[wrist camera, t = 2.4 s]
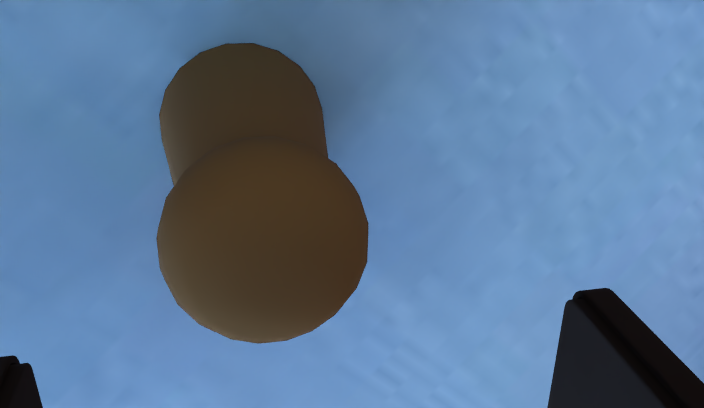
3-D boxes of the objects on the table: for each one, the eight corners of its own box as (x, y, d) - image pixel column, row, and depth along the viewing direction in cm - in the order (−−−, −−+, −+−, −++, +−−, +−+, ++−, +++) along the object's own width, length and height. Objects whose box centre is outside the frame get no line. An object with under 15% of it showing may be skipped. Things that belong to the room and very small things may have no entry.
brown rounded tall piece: (125, 92, 23) (72, 238, 14) (276, 11, 23) (331, 100, 13) (214, 223, 26) (223, 421, 16) (348, 151, 26) (438, 308, 16)
